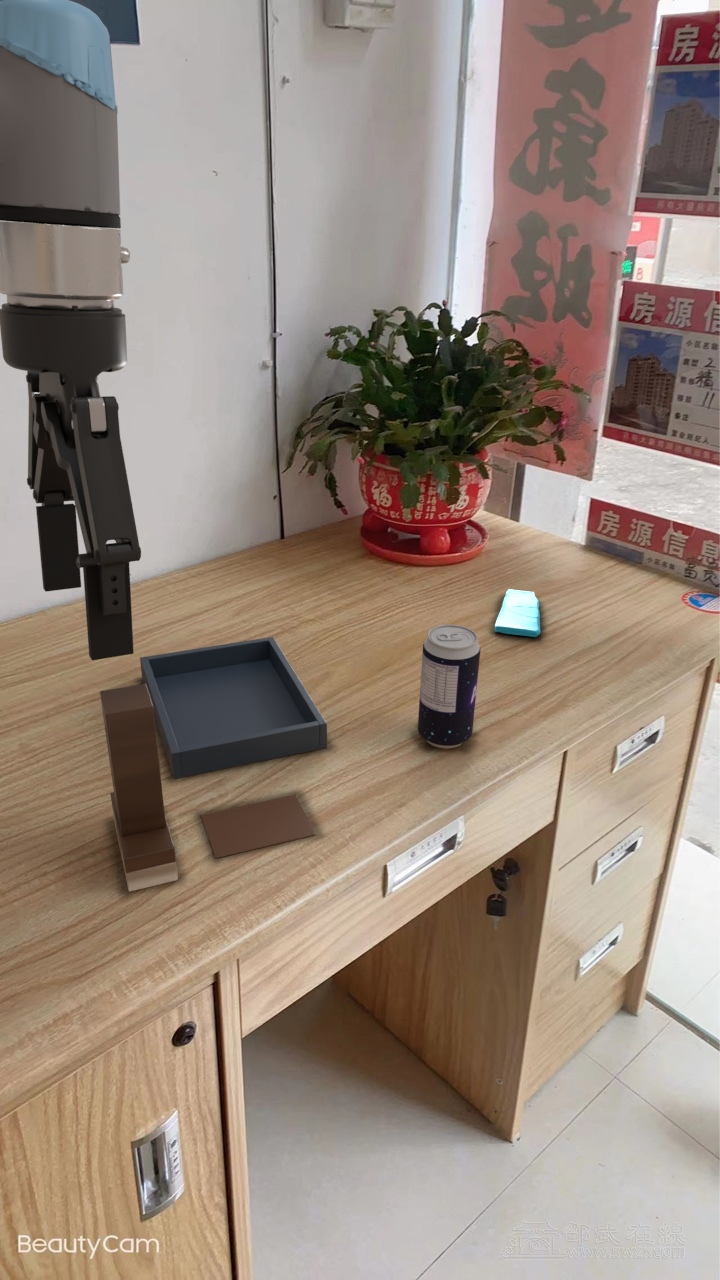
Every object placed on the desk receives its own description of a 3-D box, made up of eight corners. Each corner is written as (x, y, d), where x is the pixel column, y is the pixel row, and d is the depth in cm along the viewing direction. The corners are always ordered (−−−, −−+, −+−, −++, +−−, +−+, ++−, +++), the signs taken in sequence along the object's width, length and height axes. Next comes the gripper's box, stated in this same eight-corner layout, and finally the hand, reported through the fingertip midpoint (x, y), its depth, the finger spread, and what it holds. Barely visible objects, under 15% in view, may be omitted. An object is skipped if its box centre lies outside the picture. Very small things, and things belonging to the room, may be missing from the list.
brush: (178, 880, 73) (161, 724, 66) (128, 892, 72) (106, 734, 64) (159, 813, 80) (143, 666, 73) (114, 823, 79) (93, 674, 72)
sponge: (549, 594, 121) (508, 584, 122) (540, 633, 111) (494, 622, 112) (547, 604, 122) (505, 594, 123) (537, 644, 112) (492, 632, 113)
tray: (174, 779, 85) (171, 753, 83) (142, 680, 101) (139, 657, 100) (327, 747, 90) (327, 723, 89) (273, 658, 106) (273, 636, 105)
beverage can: (476, 752, 90) (487, 649, 84) (421, 753, 89) (428, 650, 84) (466, 721, 95) (475, 622, 89) (413, 722, 94) (419, 623, 89)
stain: (215, 858, 75) (215, 857, 75) (200, 815, 80) (200, 814, 80) (315, 834, 78) (315, 834, 78) (295, 794, 83) (295, 794, 83)
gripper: (190, 320, 47) (196, 679, 55) (74, 292, 66) (91, 560, 75) (44, 317, 43) (74, 702, 52) (-34, 288, 63) (-2, 571, 71)
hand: (84, 619), depth 63 cm, fingers open, 13 cm apart
